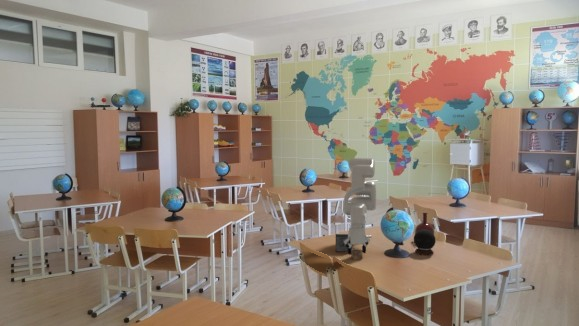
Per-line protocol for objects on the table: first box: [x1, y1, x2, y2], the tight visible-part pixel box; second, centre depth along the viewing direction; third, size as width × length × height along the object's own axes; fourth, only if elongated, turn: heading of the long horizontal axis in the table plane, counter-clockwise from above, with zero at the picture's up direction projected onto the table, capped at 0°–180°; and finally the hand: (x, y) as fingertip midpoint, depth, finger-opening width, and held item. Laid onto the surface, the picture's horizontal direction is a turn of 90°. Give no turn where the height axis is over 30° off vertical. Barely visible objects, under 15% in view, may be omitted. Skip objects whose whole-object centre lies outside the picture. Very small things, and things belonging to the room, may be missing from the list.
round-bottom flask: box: [414, 212, 436, 235], centre depth 289 cm, size 13×13×20 cm
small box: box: [335, 233, 353, 253], centre depth 268 cm, size 11×6×10 cm, turn 84°
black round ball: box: [413, 229, 437, 256], centre depth 262 cm, size 13×13×15 cm
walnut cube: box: [350, 248, 363, 260], centre depth 253 cm, size 5×5×5 cm
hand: (356, 253), depth 253 cm, fingers open, 9 cm apart
